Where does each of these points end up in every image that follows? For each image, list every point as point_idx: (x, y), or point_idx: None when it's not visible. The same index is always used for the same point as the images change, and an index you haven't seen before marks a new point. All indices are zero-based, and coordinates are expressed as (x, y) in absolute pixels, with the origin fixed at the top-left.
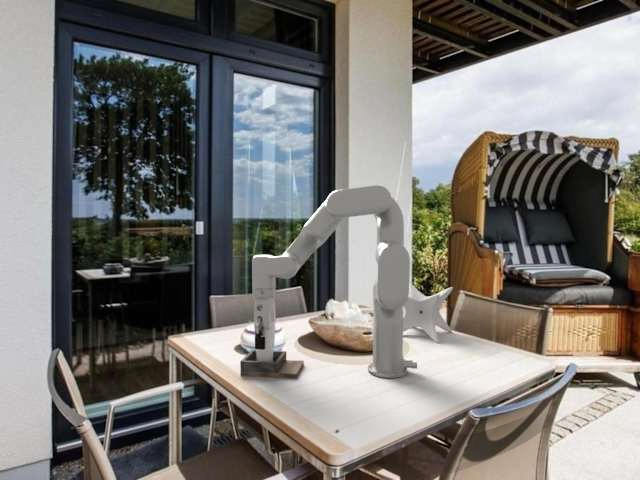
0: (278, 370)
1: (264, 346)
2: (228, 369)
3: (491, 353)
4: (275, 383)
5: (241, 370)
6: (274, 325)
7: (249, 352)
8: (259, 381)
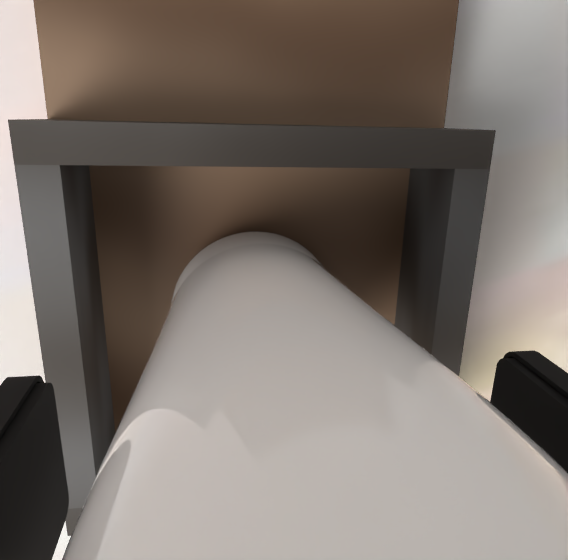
0: (406, 127)
1: (560, 369)
2: None
3: None
4: (543, 113)
5: None
6: (483, 558)
7: None
8: (501, 253)
